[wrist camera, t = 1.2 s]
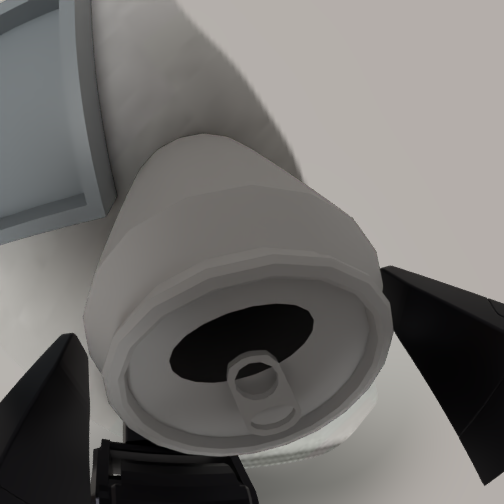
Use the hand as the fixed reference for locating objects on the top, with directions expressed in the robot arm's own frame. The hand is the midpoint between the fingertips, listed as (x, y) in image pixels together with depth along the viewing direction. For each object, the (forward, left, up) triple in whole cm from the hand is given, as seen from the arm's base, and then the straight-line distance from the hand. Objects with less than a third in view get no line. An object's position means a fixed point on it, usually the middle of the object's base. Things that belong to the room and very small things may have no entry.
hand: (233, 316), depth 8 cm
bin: (+7, +10, -9) cm, 15 cm away
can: (0, 0, -9) cm, 9 cm away
